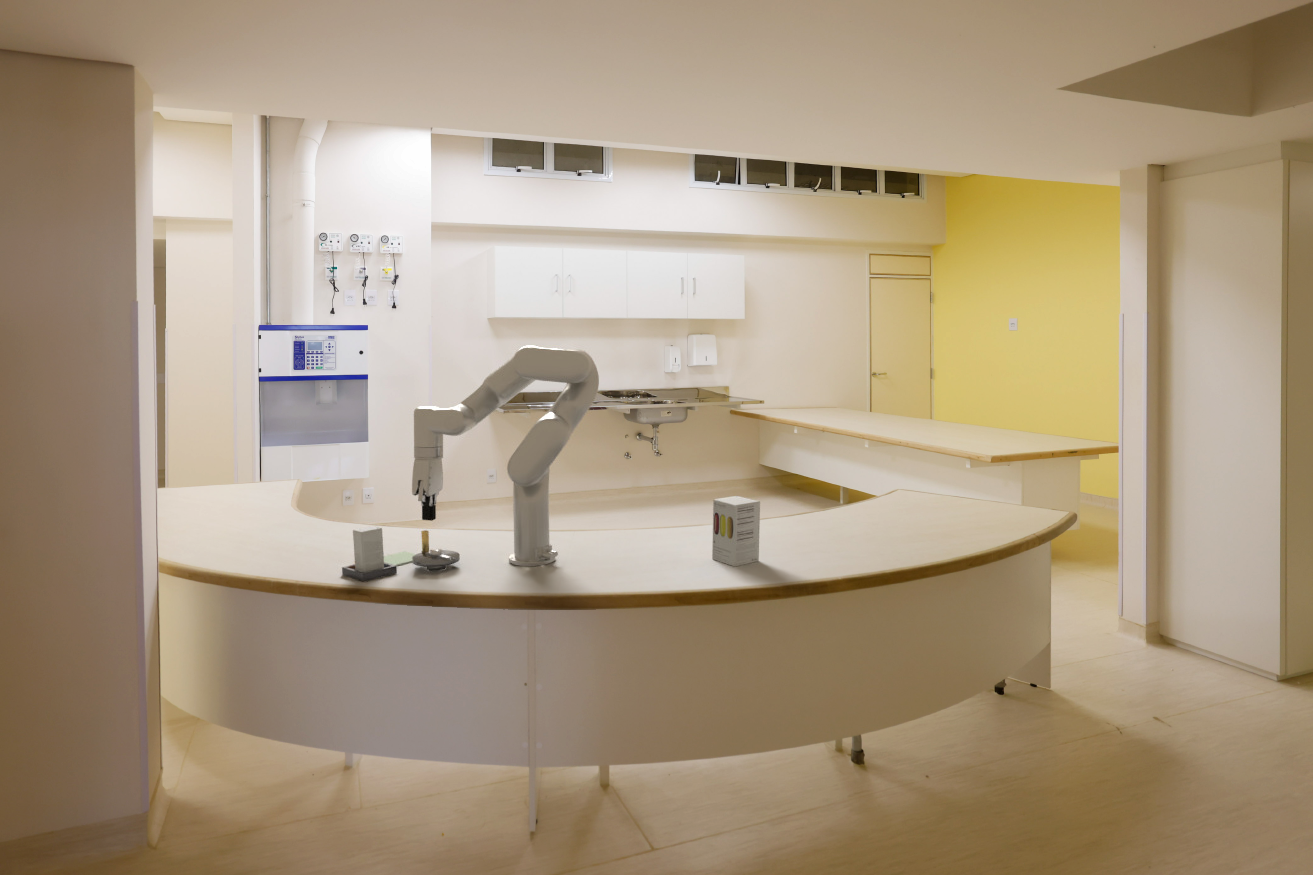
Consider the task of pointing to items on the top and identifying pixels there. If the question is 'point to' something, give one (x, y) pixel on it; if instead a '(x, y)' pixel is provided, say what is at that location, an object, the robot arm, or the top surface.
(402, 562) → the mat
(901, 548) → the top surface
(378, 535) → the skincare box
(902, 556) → the top surface
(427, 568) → the wheel post
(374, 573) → the dark grey square tray
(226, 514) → the top surface
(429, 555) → the handwheel
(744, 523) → the supplement box
